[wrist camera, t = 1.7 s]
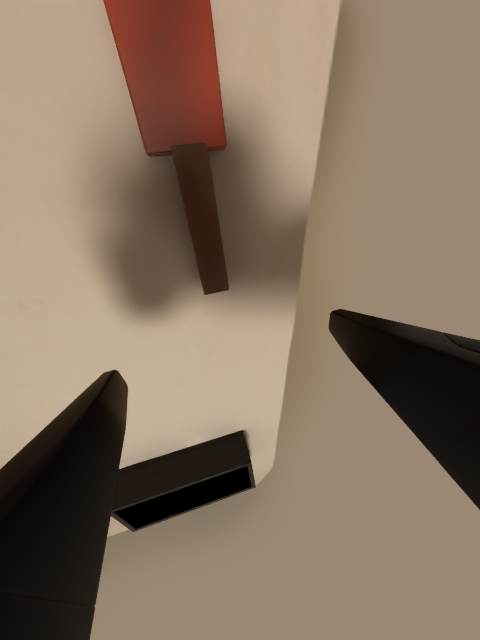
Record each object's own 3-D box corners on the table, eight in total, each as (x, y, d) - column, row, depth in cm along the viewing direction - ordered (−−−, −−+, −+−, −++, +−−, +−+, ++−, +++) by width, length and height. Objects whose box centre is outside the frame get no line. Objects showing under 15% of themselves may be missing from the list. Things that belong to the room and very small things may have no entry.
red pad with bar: (207, -1, 10) (213, -52, 8) (240, 276, 18) (247, 286, 16) (103, -3, 10) (82, -59, 8) (184, 287, 18) (185, 299, 16)
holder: (242, 430, 31) (251, 462, 27) (247, 456, 35) (255, 487, 31) (115, 470, 28) (105, 512, 24) (138, 493, 32) (132, 532, 28)
